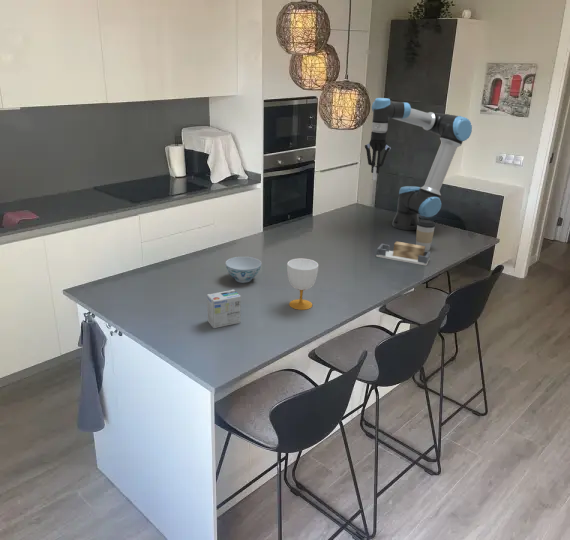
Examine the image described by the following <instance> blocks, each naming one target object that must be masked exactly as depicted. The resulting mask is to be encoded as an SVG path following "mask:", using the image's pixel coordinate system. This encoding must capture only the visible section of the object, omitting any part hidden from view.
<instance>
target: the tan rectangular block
mask: <svg viewBox="0 0 570 540" xmlns="http://www.w3.org/2000/svg"><path fill="white" fill-rule="evenodd" d="M392 251H393V256H398V257H404V258H410V259H415V260H418V256H419V255H421V256H424V252H425V246H421V245H416V243H415V244H414V243H407V242H403V241H402V242H401V241H395V242H394V244H393V250H392Z"/></svg>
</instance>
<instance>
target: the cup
mask: <svg viewBox="0 0 570 540" xmlns="http://www.w3.org/2000/svg"><path fill="white" fill-rule="evenodd" d="M286 268H287V269H286V270H287V279H288V281H289V284H290V285H291V287H292V288H294V289H295V290H297V291H299V298H298V299H293V300H291V301H289V303H288V305H289V307H290V308H292V309H295V310H299V311H305V310H306V311H307V310H309V309H311V308H312V307H313V303H312V302H311V301H309V300H307V299H303V294H304V291H306V290H307V291H308V290H310V289H311V288H312V287H313V286H314V285H315V283H316V280H317V276H318V272H319V263H318V262H317V261H315V260H313V259H309V258H292V259H290V260H289V261H287V263H286Z"/></svg>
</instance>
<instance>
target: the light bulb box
mask: <svg viewBox="0 0 570 540" xmlns="http://www.w3.org/2000/svg"><path fill="white" fill-rule="evenodd" d="M241 299H242V295H240V294H239V293H238V292H237V291H236V290H235V289H228V290H225V291H220V292H219V291H218V292H214V293H208V294H206V303H207V304H206V307H207V322H208V323H209V324H210V326H211V327H212V328H213V329H217V328H221V327H222V328H223V327H226V326H232V325H236V324H241V323H242V317H241V316H242V313H241V312H242V305H241V302H242V300H241Z"/></svg>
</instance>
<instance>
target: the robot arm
mask: <svg viewBox="0 0 570 540" xmlns="http://www.w3.org/2000/svg"><path fill="white" fill-rule="evenodd" d="M371 111H372V123H371V132H370V141H369V142H368V143H367V144H365V145H364V148H365V150H366V151H365V152H366V158H367V165H369V166H370V167H371V171H370V172H371V173H372V179H371V180H372V181H376V180H377V179H378V174H379V173H380V169H381V167H383V166H384V165H385V163H386V160H387V157H388V153H389V152H390V151H391V149H392V147H391V146H389V145H388V143H387V138H388V137H387V136H388V133H387V131H388V126H389V121H390V120H391V119H393V120H395V121H399V122H404V123H407V124H411V125H414V126H418V127H420V128H422V129H423V130H425V131H427V132H431V133H432V134H435V135H437V136H440V137H439V140H440V145H439V147H438V150H437V152H436V155H435V157H434V160H433V162H432V164H431V168H430V170H429V172H428V174H427V178H426V179H425V183H424V185H423V186H415V185H411V186H410V185H407V186H406V185H405V186H401V187H400V188H399V192H398V199H397V209H396V214H395V216H394V217H393V220H392V222H391V223H392V225H391V226H392V227H393V228H395V229H398V230H402V231H415V230H416V231H417V222H418V221H420V219H419V215H420V216H422V217H425V218H432V217H434V216H436V215H437V214H438V213H439V212H440V210H441V208H442V201H441V196H442V194H441V192H440V191H441V188H442V186H443V183H444V181H445V179H446V176H447V173H448V171H449V169H450V166H451V163H452V161H453V159H454V156H455V154H456V151H457V149H458V148H459V147H461V146H462V145H463V143H464V142H465V141H467V140H468V139H469V138H470V137H471V135H472V132H473V130H472V129H473V125H472V123H471V121H470V119H469V118H467V117H465V116H461V115H455V114H450V113H449V114H448V113H437V112H436V113H435V112H434V111H433V112H432V111H429V112H425V111H423V110H419V109H417V108H416V109H415V108H412V107H411V104H410V103H409V102H404V101H403V102H401V101H400V102H399V101H393V100H391V99H390V98H386V97H376V98H375V99H374V101H373V102H372V105H371ZM371 149H372V155H371ZM383 150H384V153H383ZM382 153H383V156H382Z"/></svg>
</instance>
